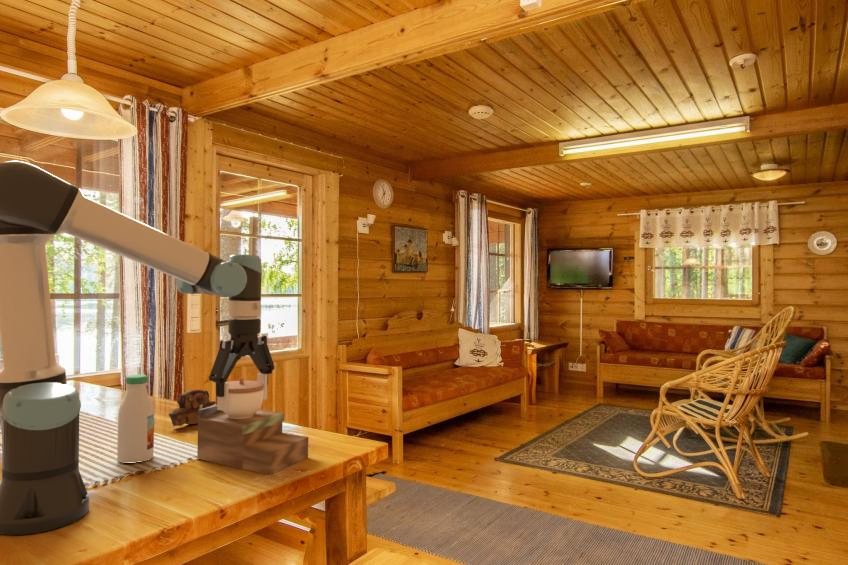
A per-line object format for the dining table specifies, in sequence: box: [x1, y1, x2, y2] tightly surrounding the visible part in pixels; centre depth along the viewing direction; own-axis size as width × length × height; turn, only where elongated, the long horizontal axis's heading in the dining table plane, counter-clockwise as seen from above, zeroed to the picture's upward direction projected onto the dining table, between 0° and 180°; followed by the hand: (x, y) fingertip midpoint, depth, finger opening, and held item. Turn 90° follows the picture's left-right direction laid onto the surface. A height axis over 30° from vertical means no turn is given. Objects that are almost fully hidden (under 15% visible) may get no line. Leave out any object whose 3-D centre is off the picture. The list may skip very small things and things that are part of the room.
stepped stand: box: [196, 404, 309, 475], centre depth 140 cm, size 14×22×12 cm, turn 65°
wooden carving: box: [168, 389, 217, 427], centre depth 170 cm, size 16×5×10 cm, turn 162°
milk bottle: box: [116, 374, 155, 462], centre depth 137 cm, size 8×8×20 cm
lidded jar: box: [223, 377, 264, 419], centre depth 141 cm, size 11×11×9 cm
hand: (243, 404), depth 142 cm, fingers open, 13 cm apart
